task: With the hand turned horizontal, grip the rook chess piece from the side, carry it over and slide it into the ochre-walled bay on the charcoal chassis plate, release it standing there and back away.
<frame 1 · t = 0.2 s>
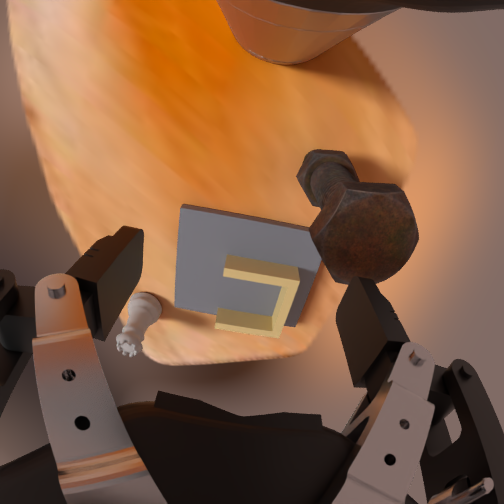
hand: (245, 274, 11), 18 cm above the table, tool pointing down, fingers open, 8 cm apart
bolt: (317, 164, 26), on the table
rook chess piece: (147, 302, 35), on the table
chassis: (245, 270, 32), on the table
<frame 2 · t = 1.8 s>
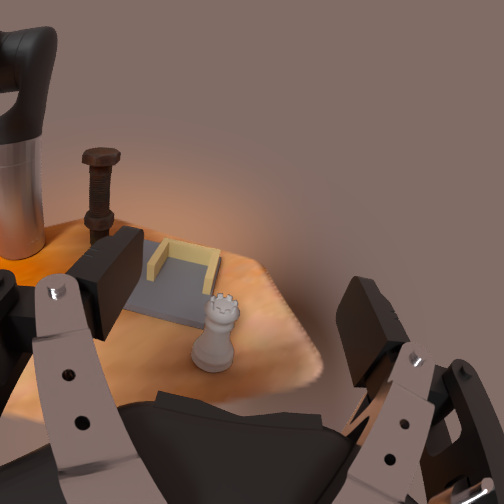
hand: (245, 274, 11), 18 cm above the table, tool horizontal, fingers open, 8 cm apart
bolt: (99, 245, 41), on the table
rook chess piece: (211, 359, 29), on the table
chassis: (167, 280, 38), on the table
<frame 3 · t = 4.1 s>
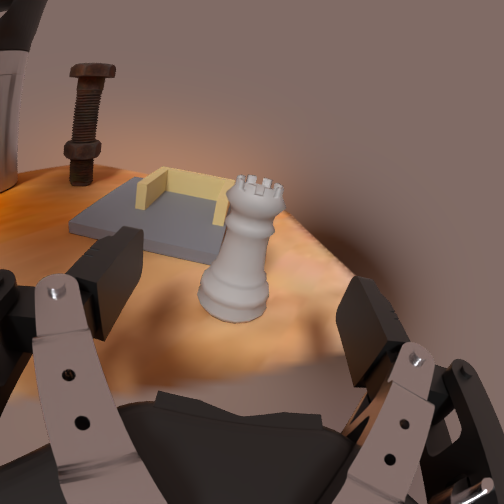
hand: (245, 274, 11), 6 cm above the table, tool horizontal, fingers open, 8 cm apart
bolt: (80, 185, 31), on the table
rook chess piece: (230, 305, 18), on the table
chassis: (163, 214, 28), on the table
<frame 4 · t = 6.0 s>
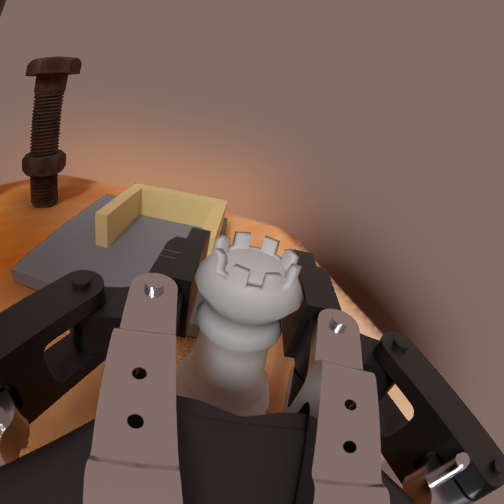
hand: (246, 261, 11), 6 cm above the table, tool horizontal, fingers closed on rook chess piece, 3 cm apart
bolt: (44, 205, 24), on the table
rook chess piece: (215, 406, 12), on the table, touching gripper
chassis: (133, 249, 21), on the table
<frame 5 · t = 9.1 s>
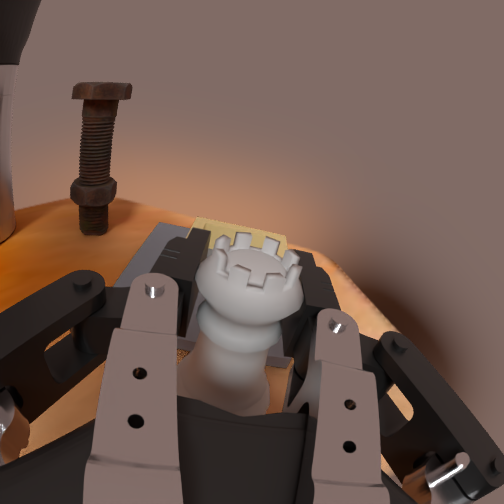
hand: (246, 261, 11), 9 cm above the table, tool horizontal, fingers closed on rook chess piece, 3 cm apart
bolt: (94, 232, 27), on the table
rook chess piece: (215, 407, 12), point 3 cm above the table, touching gripper
chassis: (205, 284, 24), on the table
when the fingers open (9 cm above the table, at t = 11.9 s): rook chess piece drops 2 cm, resting on chassis.
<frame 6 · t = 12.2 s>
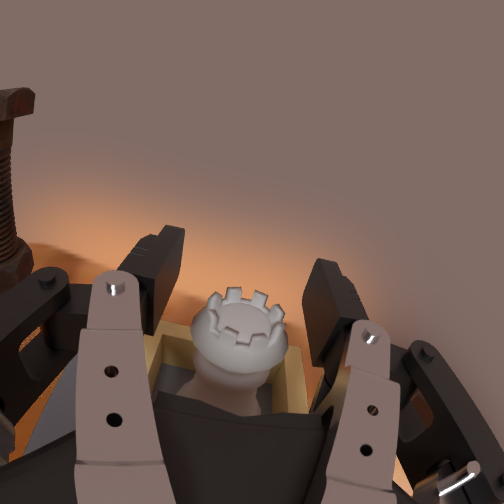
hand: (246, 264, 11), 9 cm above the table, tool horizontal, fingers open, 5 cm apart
bolt: (16, 318, 15), on the table
rook chess piece: (212, 427, 13), point 1 cm above the table, touching chassis
chassis: (167, 437, 12), on the table
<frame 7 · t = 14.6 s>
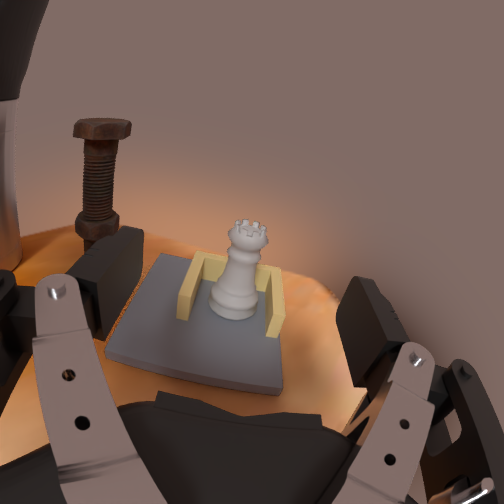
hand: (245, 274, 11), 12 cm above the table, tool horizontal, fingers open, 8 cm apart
bolt: (98, 262, 29), on the table
rook chess piece: (231, 308, 26), point 1 cm above the table, touching chassis
chassis: (205, 315, 25), on the table
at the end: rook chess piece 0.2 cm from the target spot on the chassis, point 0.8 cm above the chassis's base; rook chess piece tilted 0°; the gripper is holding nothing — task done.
